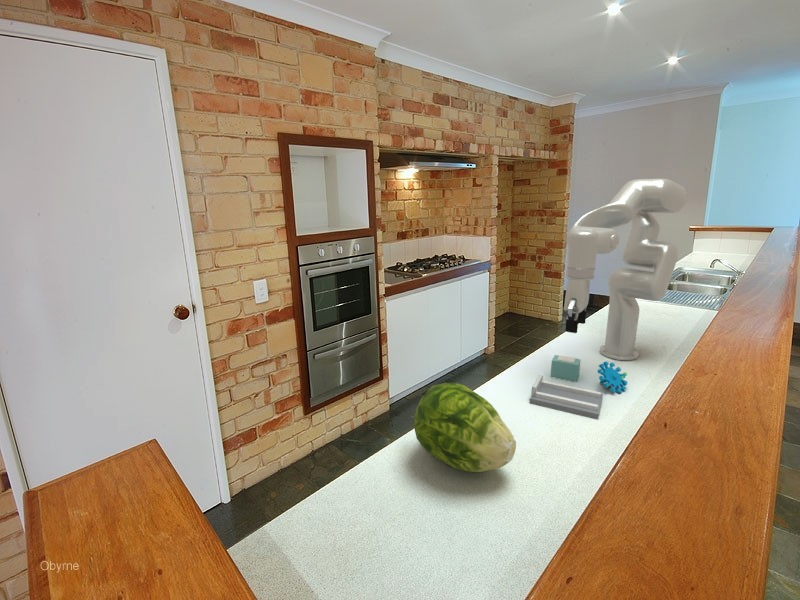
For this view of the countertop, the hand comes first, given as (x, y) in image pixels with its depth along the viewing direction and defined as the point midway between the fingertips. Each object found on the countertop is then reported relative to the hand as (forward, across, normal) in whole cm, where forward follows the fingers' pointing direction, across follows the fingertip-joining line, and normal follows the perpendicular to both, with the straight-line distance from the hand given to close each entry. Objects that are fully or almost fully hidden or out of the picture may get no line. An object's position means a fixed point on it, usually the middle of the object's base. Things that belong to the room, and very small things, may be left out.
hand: (575, 327), depth 122 cm
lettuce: (+19, +53, -10) cm, 57 cm away
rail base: (+18, +13, +2) cm, 22 cm away
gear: (+19, -3, +12) cm, 22 cm away
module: (+18, -3, -2) cm, 19 cm away
